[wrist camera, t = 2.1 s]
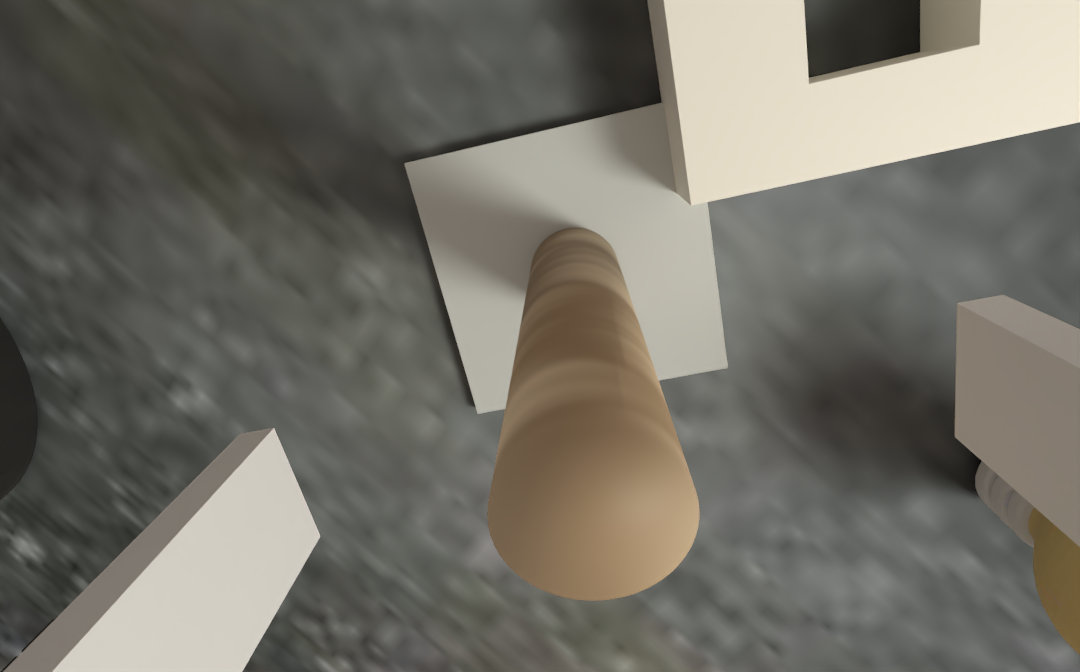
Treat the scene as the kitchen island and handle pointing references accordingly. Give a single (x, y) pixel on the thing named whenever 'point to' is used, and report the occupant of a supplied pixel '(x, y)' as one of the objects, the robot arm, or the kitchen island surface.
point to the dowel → (587, 437)
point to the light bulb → (1040, 552)
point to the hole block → (852, 89)
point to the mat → (559, 203)
